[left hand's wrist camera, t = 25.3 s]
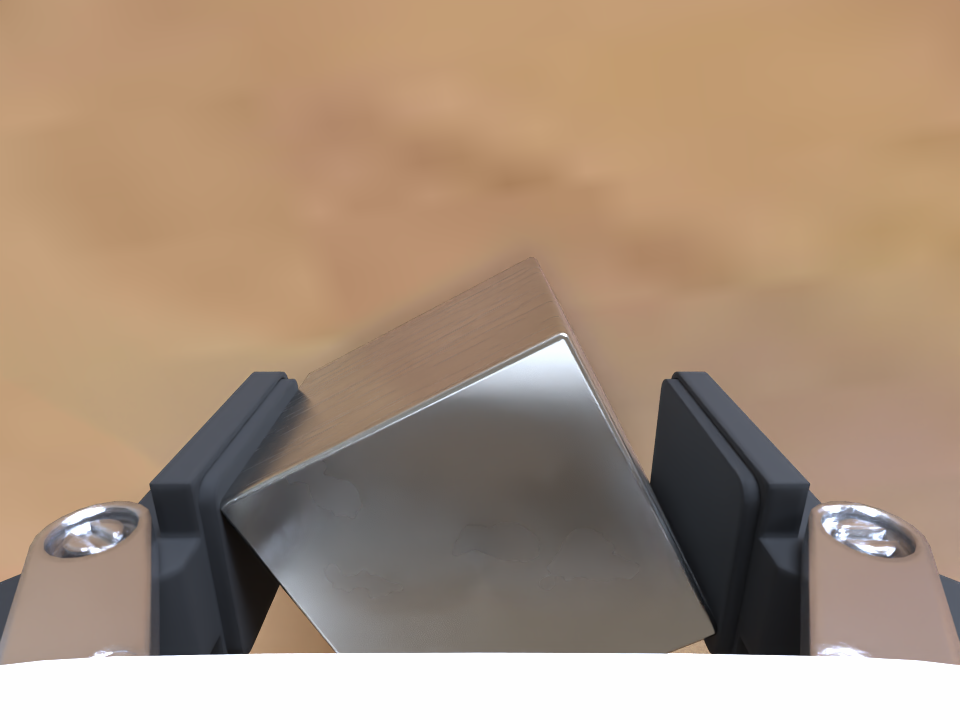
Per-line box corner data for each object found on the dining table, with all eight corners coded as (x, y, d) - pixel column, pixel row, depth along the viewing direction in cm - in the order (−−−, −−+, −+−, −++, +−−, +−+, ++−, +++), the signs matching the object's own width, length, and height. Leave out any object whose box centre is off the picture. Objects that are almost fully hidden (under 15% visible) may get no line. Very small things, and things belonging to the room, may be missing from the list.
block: (435, 559, 14) (414, 753, 9) (306, 374, 12) (212, 507, 8) (642, 467, 13) (722, 635, 9) (533, 253, 11) (566, 330, 7)
